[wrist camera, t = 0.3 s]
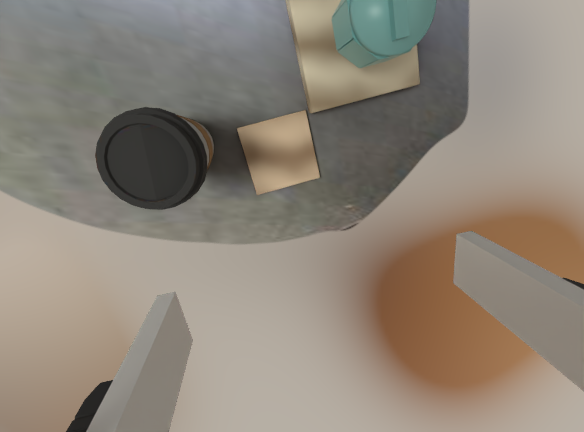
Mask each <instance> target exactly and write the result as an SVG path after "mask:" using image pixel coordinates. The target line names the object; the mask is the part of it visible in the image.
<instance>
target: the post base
mask: <svg viewBox="0 0 584 432" xmlns="http://www.w3.org/2000/svg"><path fill="white" fill-rule="evenodd" d="M285 1H286V5H287V10H288V15H289V19H290V24H291V29H292V34H293V38H294V43H295V48H296V53H297V57H298V62H299V67H300V72H301V76H302V81H303V86H304V91H305V95H306V100H307V105H308V110H309V113H314V112H318V111H322V110H325V109H329V108H333V107H336V106H340V105H344V104H348V103H351V102H355V101H359V100H363V99H366V98H370V97H374V96H377V95H381V94H385V93H389V92H392V91H396V90H400V89H404V88H407V87H411V86H415V85H418V84H420V80H419V66H418V52H417V44H416V45H415V46H414V47H413V48H412V49H411V51H409V52H408V53H405V54H403V55H400V56H398V57H396V58H393V59H391V60H388V61H386V62H382V63H379V64H375V65H371V66H367V67H363V68H358V67H357V66H355V65H354V64H353V63H351V62H350V61H349V60H347V59H346V58H345V57H343V56H342V55H341V54H339V53H338V50H336V44H335V38H334V31H333V25H332V16H333V14H334V12H335V10H336V9H337V7H338V5H339V3H340V1H341V0H285Z"/></svg>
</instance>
